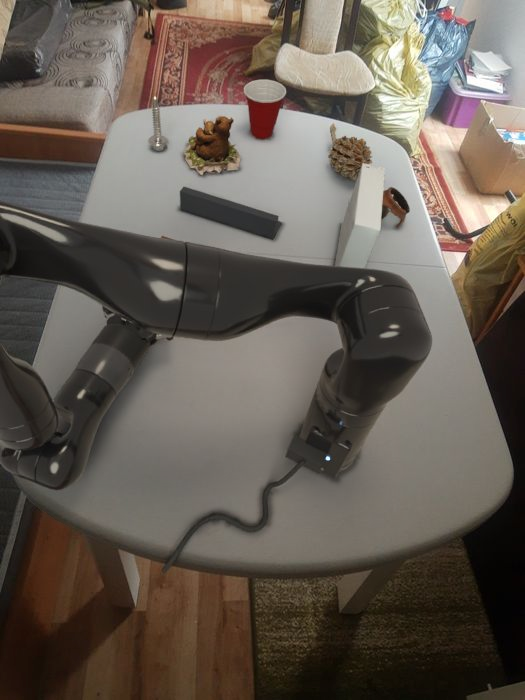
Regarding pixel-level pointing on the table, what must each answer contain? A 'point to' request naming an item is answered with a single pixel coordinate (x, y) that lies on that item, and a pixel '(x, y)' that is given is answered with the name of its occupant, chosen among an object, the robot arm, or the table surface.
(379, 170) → the skincare box
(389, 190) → the brown round legged piece
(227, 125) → the bear figurine
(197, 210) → the stop rail
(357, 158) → the pine cone
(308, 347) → the table surface
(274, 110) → the plastic cup
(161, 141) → the screw
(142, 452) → the table surface
